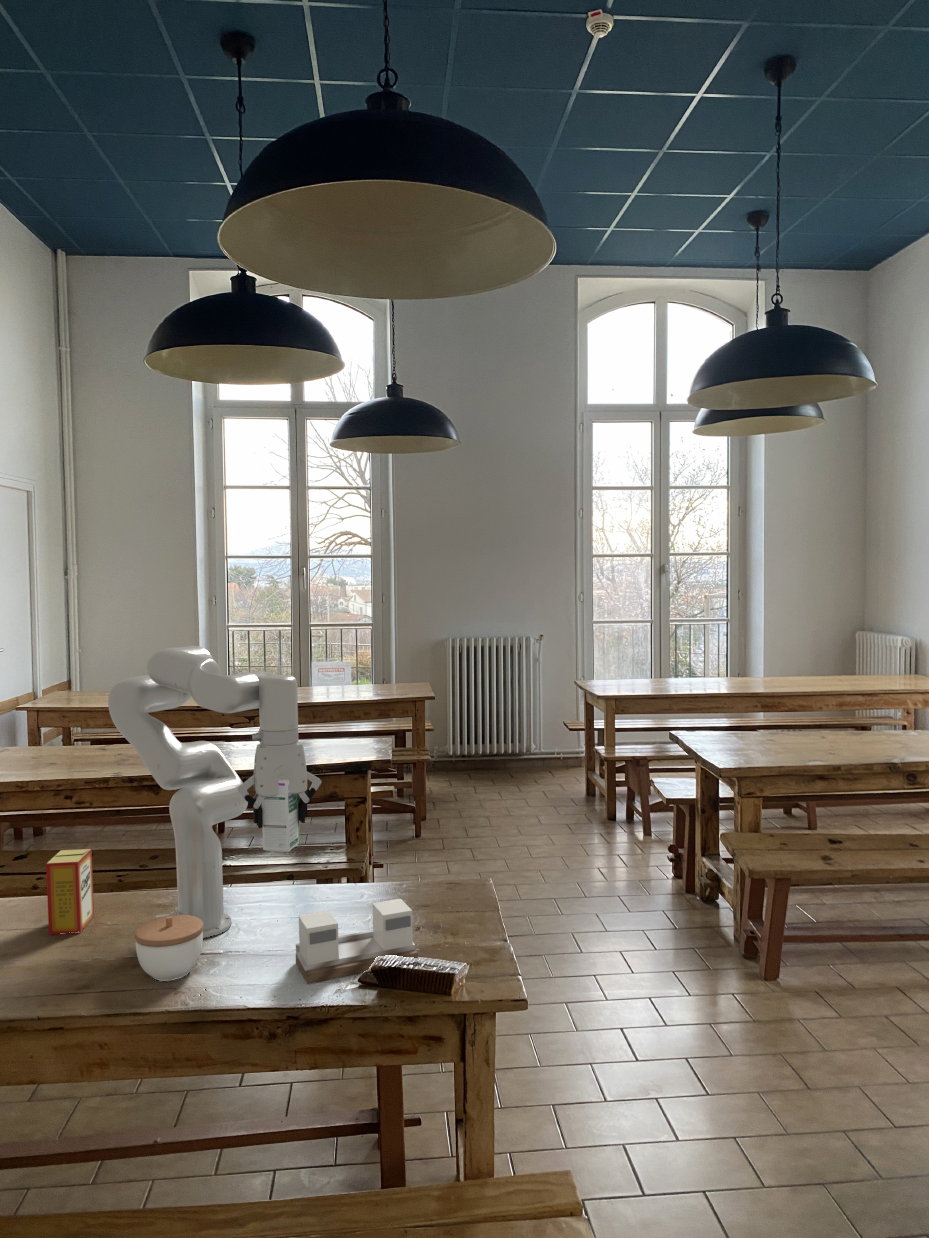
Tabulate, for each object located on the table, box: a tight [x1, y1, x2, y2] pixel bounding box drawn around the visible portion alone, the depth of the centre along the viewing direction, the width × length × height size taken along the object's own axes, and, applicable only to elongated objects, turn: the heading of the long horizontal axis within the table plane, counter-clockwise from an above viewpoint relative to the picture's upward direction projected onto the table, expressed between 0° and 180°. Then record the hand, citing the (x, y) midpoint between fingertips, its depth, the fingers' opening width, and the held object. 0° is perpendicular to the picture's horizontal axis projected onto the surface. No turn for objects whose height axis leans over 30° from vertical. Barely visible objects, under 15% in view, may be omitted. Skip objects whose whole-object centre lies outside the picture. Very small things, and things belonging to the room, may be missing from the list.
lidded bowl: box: [134, 915, 204, 980], centre depth 171 cm, size 13×13×11 cm
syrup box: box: [261, 779, 301, 853], centre depth 177 cm, size 6×6×14 cm
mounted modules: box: [298, 898, 414, 965], centre depth 173 cm, size 21×7×7 cm, turn 113°
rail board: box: [295, 929, 419, 985], centre depth 174 cm, size 22×10×4 cm, turn 113°
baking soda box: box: [45, 848, 95, 936], centre depth 195 cm, size 10×6×16 cm
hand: (280, 823), depth 177 cm, fingers closed on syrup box, 7 cm apart
